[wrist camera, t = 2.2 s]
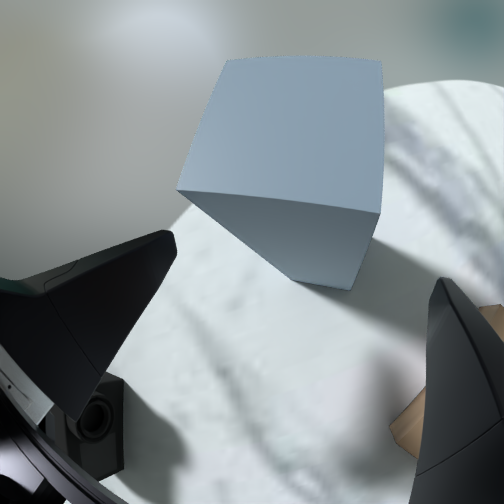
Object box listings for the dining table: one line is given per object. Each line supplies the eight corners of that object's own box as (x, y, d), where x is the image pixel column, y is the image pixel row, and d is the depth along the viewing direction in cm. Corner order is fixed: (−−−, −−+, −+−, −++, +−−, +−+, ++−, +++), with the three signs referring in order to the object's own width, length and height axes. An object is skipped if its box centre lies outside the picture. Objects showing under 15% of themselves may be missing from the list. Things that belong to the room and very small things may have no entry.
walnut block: (464, 481, 11) (476, 498, 8) (389, 426, 14) (396, 443, 12) (542, 377, 10) (563, 382, 8) (479, 307, 14) (500, 304, 11)
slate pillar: (350, 290, 17) (380, 213, 4) (290, 279, 19) (175, 189, 6) (360, 231, 18) (381, 61, 5) (302, 222, 19) (226, 60, 6)
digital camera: (134, 475, 19) (84, 501, 12) (95, 452, 20) (45, 468, 14) (134, 383, 21) (71, 395, 14) (93, 365, 22) (34, 368, 16)
